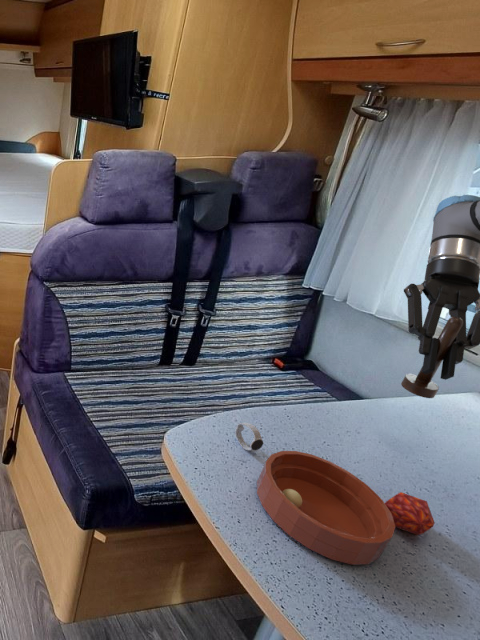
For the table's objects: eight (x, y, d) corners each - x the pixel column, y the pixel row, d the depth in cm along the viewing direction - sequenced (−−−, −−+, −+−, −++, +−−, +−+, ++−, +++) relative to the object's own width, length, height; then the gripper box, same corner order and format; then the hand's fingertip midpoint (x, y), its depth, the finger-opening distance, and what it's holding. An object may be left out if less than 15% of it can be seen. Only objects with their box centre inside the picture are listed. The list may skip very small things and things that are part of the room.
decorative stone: (412, 531, 80) (436, 554, 73) (367, 507, 83) (386, 527, 75) (430, 500, 79) (456, 520, 72) (384, 476, 82) (405, 493, 75)
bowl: (369, 504, 82) (382, 481, 80) (390, 590, 68) (407, 566, 66) (256, 458, 90) (265, 436, 88) (254, 526, 76) (265, 502, 74)
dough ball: (298, 503, 80) (304, 490, 79) (299, 515, 78) (305, 503, 77) (278, 494, 81) (284, 481, 80) (278, 506, 79) (284, 494, 78)
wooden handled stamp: (430, 388, 92) (471, 316, 86) (437, 401, 88) (481, 327, 82) (398, 378, 95) (436, 308, 88) (403, 391, 91) (444, 318, 84)
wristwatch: (247, 456, 90) (255, 436, 88) (229, 437, 95) (236, 418, 93) (259, 455, 91) (268, 435, 89) (241, 436, 95) (249, 417, 93)
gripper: (492, 284, 92) (480, 395, 86) (396, 263, 99) (378, 364, 92) (518, 268, 86) (506, 386, 79) (413, 247, 93) (395, 354, 86)
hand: (437, 374), depth 86 cm, fingers closed on wooden handled stamp, 2 cm apart
